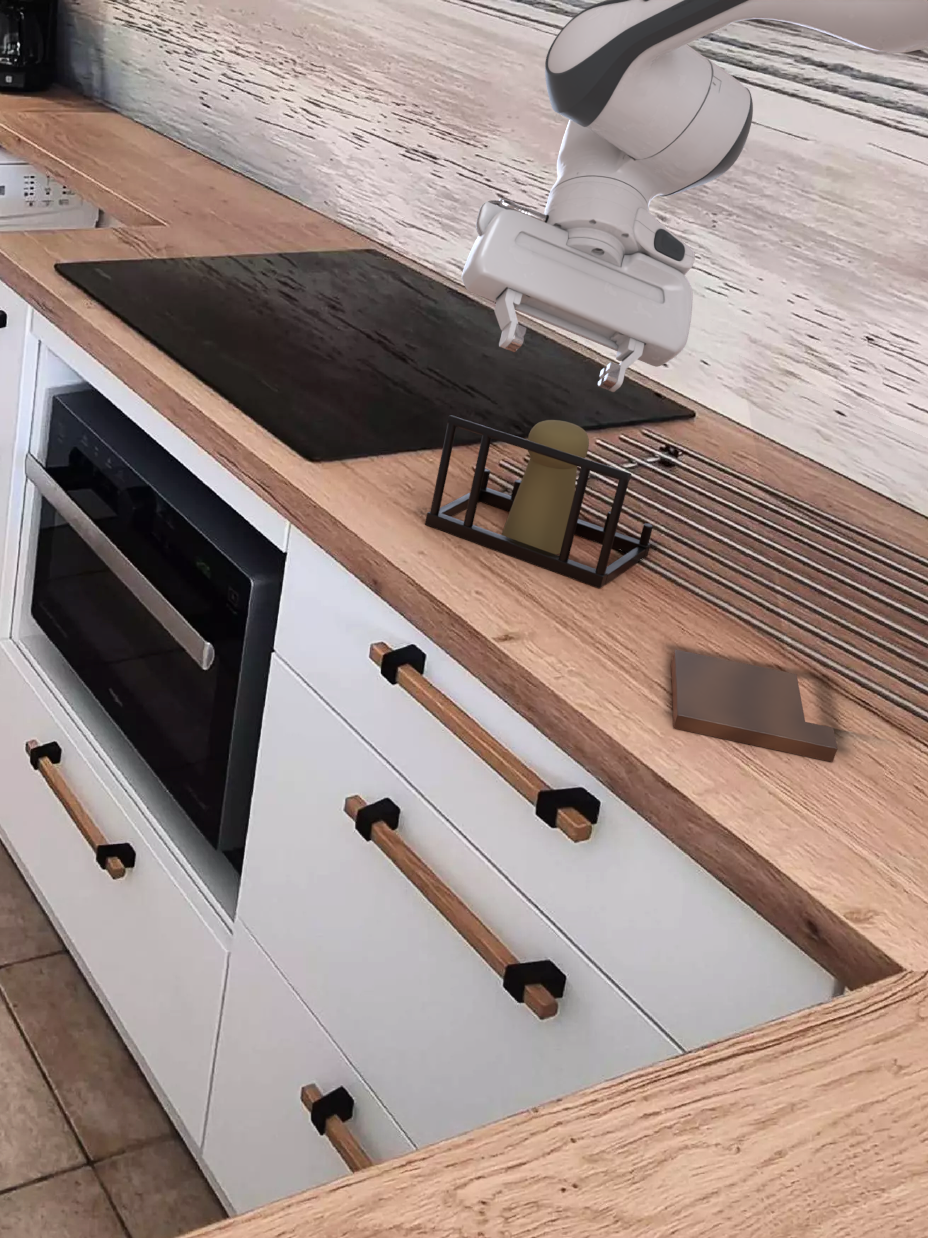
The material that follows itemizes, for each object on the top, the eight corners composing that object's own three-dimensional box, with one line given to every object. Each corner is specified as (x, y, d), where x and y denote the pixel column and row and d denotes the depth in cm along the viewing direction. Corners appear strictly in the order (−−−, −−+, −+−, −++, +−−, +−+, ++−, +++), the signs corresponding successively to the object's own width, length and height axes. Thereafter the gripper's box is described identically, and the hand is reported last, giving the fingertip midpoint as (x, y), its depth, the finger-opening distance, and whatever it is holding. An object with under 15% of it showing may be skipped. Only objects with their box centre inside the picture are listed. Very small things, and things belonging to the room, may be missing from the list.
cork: (580, 555, 148) (609, 438, 142) (516, 554, 146) (543, 436, 141) (553, 526, 153) (580, 413, 148) (491, 525, 152) (516, 411, 147)
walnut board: (818, 692, 128) (823, 679, 127) (833, 762, 119) (837, 748, 118) (670, 662, 130) (674, 648, 130) (673, 728, 121) (677, 714, 120)
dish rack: (477, 496, 158) (499, 392, 153) (647, 556, 149) (677, 447, 144) (424, 524, 151) (446, 416, 146) (600, 589, 141) (629, 475, 137)
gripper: (500, 172, 144) (465, 305, 139) (712, 259, 146) (685, 393, 141) (469, 210, 149) (434, 339, 145) (673, 293, 152) (645, 423, 147)
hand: (560, 367), depth 143 cm, fingers open, 8 cm apart
